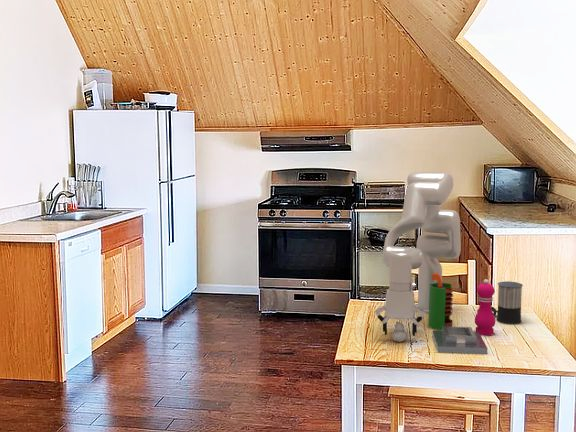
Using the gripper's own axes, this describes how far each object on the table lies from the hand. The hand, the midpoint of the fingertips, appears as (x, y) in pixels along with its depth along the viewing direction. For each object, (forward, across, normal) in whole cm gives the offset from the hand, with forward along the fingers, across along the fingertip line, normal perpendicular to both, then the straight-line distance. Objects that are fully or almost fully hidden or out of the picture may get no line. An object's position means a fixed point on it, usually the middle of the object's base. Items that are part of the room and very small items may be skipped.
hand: (399, 334), depth 222 cm
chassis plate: (+2, -20, +2) cm, 20 cm away
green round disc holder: (+3, -16, -19) cm, 25 cm away
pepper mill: (+2, -31, -12) cm, 33 cm away
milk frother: (+3, -40, -31) cm, 50 cm away
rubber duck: (+3, 0, 0) cm, 3 cm away
